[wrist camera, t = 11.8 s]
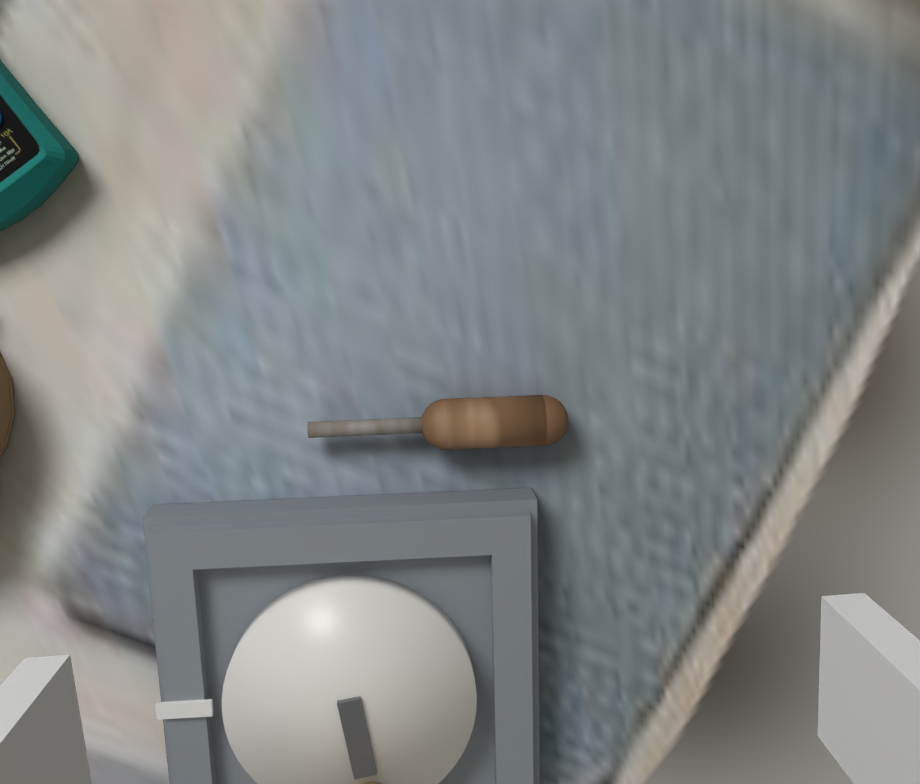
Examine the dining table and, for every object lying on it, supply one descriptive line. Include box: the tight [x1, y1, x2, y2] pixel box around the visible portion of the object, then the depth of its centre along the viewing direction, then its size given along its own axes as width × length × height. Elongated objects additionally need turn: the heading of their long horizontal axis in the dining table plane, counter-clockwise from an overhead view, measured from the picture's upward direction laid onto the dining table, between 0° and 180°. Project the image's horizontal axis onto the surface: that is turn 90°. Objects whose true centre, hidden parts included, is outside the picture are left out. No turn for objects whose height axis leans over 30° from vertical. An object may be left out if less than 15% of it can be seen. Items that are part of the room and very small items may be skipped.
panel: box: [142, 488, 540, 784], centre depth 46 cm, size 20×20×3 cm
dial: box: [222, 575, 477, 784], centre depth 41 cm, size 13×13×10 cm
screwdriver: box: [308, 395, 568, 450], centre depth 44 cm, size 13×3×3 cm, turn 92°
